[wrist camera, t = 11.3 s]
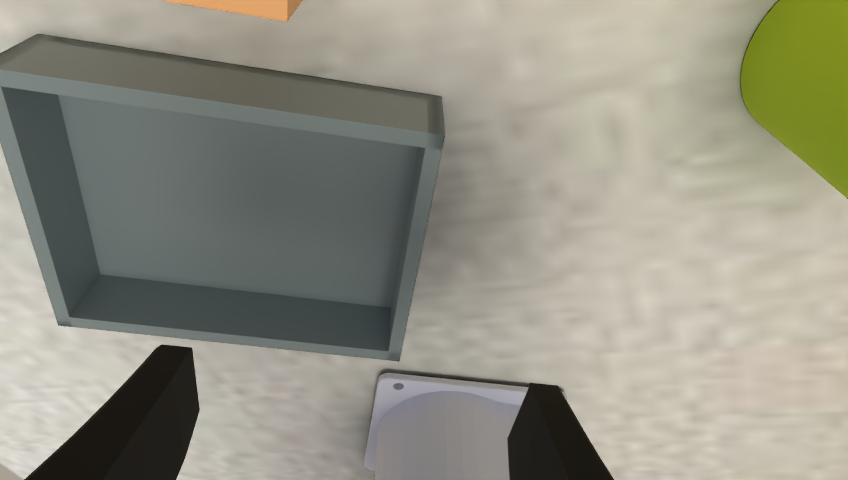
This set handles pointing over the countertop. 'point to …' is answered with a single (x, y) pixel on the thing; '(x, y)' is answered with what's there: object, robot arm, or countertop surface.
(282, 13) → the letter cube
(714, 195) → the countertop surface
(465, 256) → the countertop surface
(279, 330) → the bin
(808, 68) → the soap dispenser
